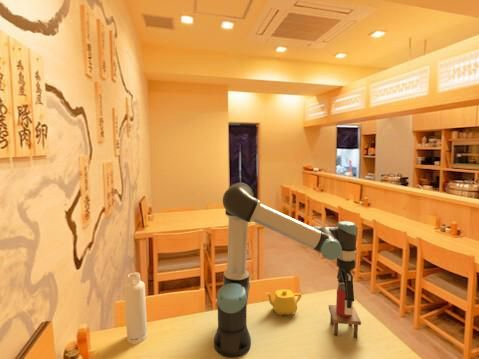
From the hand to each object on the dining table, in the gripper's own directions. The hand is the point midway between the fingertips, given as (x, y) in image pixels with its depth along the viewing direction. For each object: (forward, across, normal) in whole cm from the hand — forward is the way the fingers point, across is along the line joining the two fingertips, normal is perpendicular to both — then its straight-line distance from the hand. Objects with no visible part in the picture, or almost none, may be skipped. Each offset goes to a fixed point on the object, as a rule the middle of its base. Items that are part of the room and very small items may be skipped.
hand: (344, 304), depth 120 cm
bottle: (+12, -16, +88) cm, 90 cm away
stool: (+12, 0, 0) cm, 12 cm away
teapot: (+12, +11, +26) cm, 31 cm away
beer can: (+4, 0, 0) cm, 4 cm away
